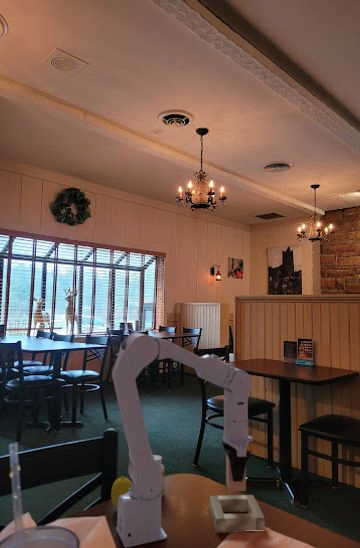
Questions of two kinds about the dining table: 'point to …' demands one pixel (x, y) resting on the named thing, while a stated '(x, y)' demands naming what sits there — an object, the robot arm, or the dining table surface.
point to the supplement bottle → (159, 468)
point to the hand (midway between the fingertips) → (235, 476)
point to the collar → (236, 521)
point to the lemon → (120, 489)
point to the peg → (229, 480)
